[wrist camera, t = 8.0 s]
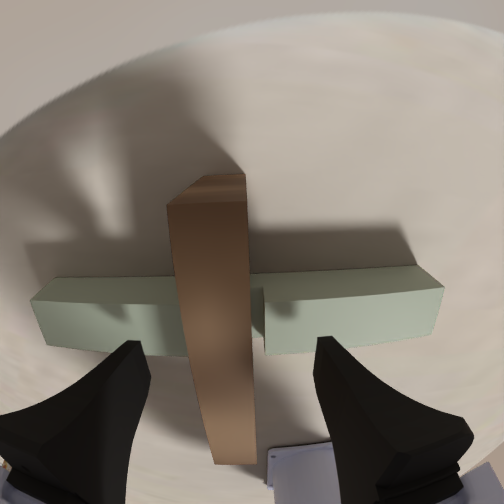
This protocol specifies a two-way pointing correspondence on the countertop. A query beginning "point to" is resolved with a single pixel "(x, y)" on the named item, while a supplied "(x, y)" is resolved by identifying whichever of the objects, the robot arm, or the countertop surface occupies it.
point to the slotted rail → (262, 310)
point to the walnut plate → (217, 309)
